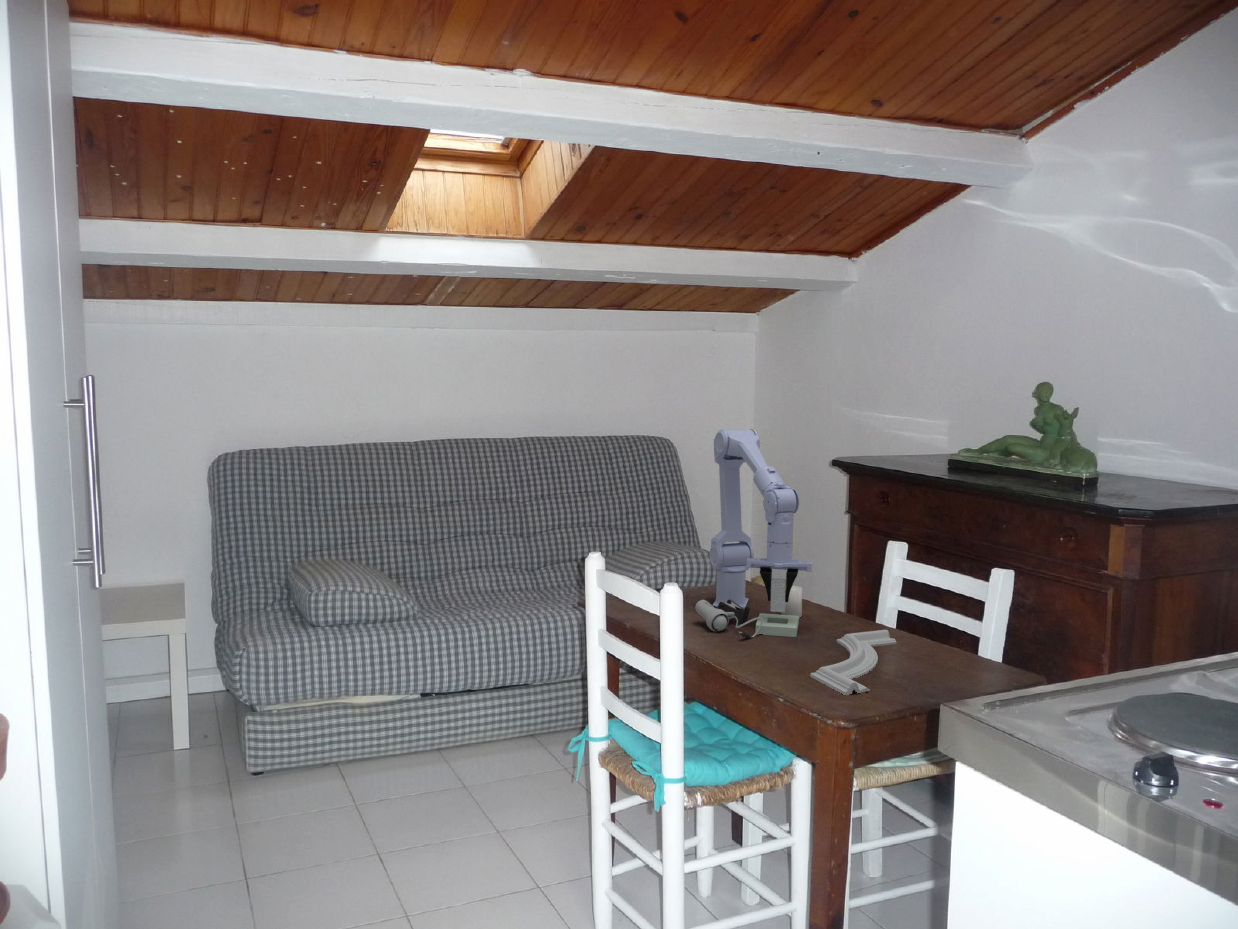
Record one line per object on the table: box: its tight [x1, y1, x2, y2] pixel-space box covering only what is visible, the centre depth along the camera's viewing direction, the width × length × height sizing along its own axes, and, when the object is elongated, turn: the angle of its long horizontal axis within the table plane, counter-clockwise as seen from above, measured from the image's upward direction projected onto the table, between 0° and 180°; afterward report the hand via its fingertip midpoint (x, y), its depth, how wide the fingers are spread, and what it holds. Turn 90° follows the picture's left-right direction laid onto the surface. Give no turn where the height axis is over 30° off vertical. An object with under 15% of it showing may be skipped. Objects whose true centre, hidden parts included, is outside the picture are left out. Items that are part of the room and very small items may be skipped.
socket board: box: [754, 612, 800, 638], centre depth 224 cm, size 11×9×2 cm
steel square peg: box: [769, 577, 786, 613], centre depth 224 cm, size 3×3×7 cm
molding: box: [809, 629, 897, 696], centre depth 200 cm, size 42×12×3 cm, turn 156°
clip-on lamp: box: [694, 599, 763, 640], centre depth 223 cm, size 12×6×18 cm
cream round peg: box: [780, 584, 803, 619], centre depth 236 cm, size 5×5×7 cm
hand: (778, 600), depth 224 cm, fingers closed on steel square peg, 3 cm apart
